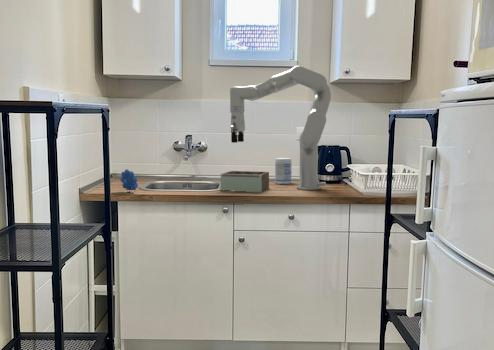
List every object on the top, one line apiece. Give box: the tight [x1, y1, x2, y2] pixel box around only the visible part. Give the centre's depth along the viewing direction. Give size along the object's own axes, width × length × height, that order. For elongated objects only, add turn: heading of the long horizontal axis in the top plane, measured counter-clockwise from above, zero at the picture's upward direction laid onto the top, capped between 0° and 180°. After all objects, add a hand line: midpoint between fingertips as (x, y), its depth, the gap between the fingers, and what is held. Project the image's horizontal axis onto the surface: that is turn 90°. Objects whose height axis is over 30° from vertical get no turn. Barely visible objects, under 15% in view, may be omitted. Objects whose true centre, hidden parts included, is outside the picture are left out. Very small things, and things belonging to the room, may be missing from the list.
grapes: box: [120, 168, 139, 191], centre depth 244 cm, size 12×7×12 cm, turn 59°
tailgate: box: [220, 173, 263, 193], centre depth 244 cm, size 22×1×9 cm, turn 73°
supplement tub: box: [274, 157, 292, 185], centre depth 275 cm, size 10×10×15 cm
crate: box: [221, 170, 270, 193], centre depth 252 cm, size 22×15×9 cm, turn 73°
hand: (237, 142), depth 253 cm, fingers open, 9 cm apart
